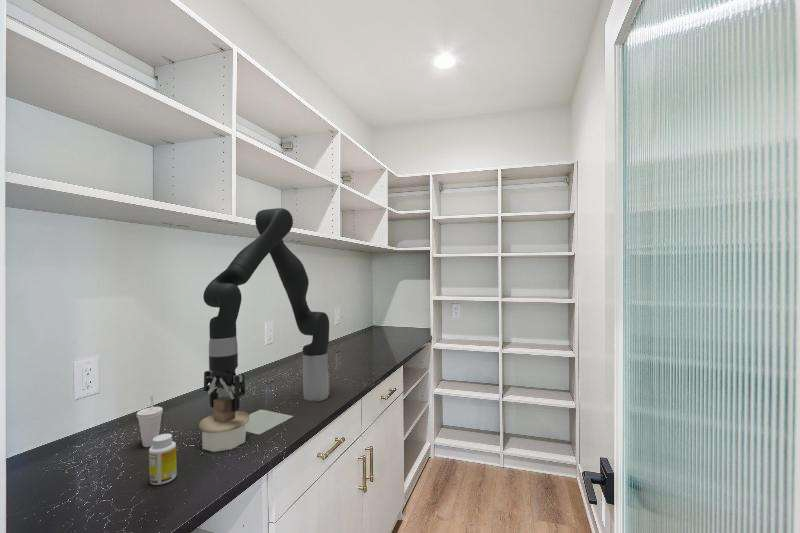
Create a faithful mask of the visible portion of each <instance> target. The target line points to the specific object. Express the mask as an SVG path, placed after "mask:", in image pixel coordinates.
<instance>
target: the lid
mask: <svg viewBox="0 0 800 533" xmlns="http://www.w3.org/2000/svg"><path fill="white" fill-rule="evenodd" d="M213 401H214V407H213V414H211V415H209V416H207V417H204V418H203V419H201V420H200V422H199V423H198V424H199V425H198V427H199V428H198V429H199V430H200V432H202V431H203V432H206V433H220V432H226V431H231V430H234V429H237V428H239V427H242V426H243V425H245V424H246V423H247V422H248V421H249V415H250V413H247V412H246V411H242V410H237V411H235V412H231V397H230V395H223V396H220V397H218V399H215V400H213Z"/></svg>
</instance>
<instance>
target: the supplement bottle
mask: <svg viewBox="0 0 800 533" xmlns="http://www.w3.org/2000/svg"><path fill="white" fill-rule="evenodd" d="M177 461H178V460H177V444H176V442H175V441H174V440H173V434H172V433H161V434H159V435H158V436H156V437H154V438H153V446H150V448H149V449H148V465H149V466H148V467H149V468H148V471H149V472H148V473H149V483H150V484H151V485H153V486H159V485H161V486H162V485H164V484H167V483H169V482H172V481H173V480H174V479H175V478H176V477H177V475H178V469H177V466H178V464H177Z"/></svg>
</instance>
